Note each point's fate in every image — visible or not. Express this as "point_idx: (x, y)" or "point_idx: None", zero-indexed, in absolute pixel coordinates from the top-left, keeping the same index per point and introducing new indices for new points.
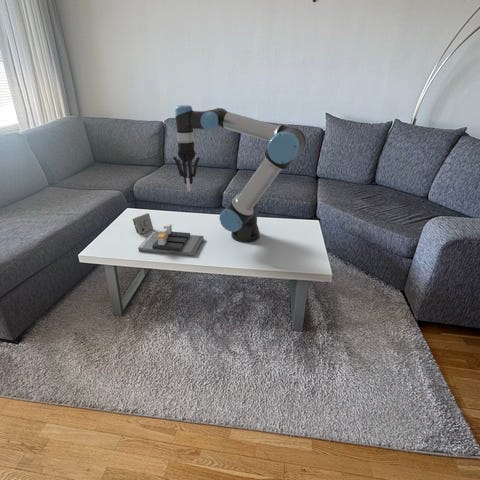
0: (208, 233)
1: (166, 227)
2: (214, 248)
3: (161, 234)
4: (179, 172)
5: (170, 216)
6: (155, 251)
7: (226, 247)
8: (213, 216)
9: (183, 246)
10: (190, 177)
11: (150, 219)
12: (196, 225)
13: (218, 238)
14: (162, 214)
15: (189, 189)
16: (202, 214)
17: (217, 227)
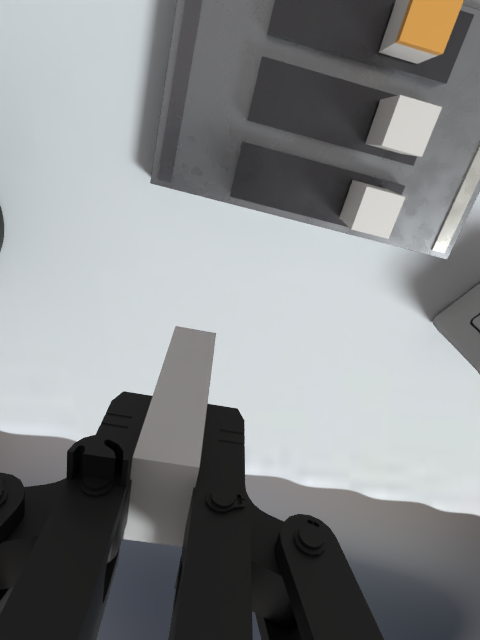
0: (135, 254)
1: (383, 190)
2: (78, 50)
3: (431, 39)
4: (364, 616)
5: (339, 447)
6: None
7: (7, 59)
8: None
9: (265, 33)
10: (85, 448)
11: (464, 353)
12: None
13: (72, 188)
14: (376, 468)
15: (178, 337)
16: None
17: (95, 320)
